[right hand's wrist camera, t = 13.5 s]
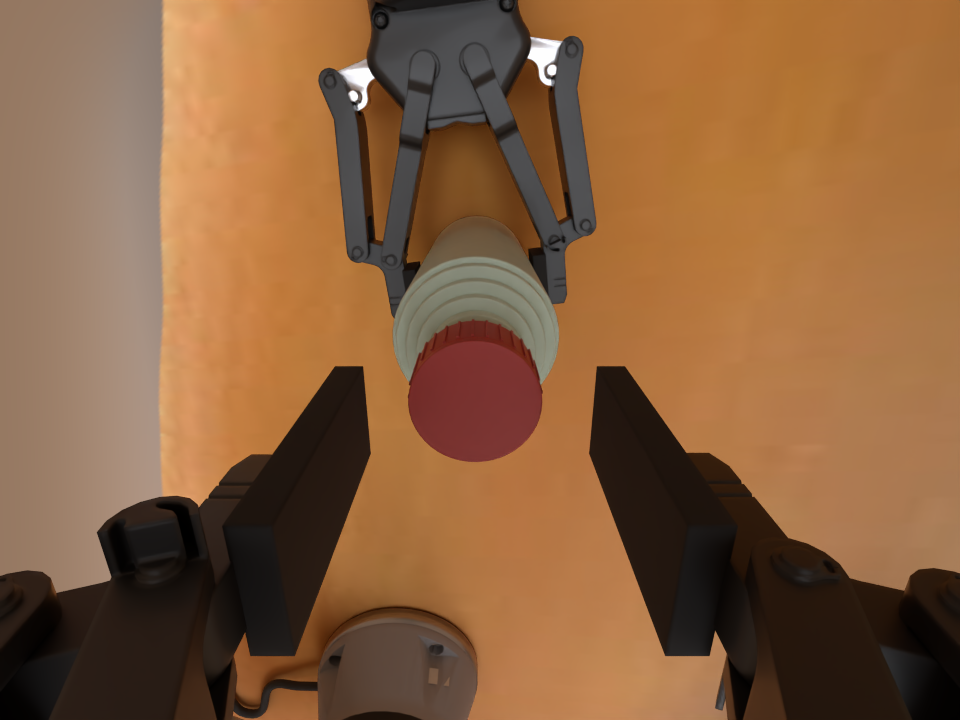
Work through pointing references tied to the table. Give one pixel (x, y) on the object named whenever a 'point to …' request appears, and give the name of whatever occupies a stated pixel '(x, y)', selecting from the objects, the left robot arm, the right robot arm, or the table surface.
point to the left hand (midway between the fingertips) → (485, 359)
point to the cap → (475, 392)
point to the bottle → (476, 293)
